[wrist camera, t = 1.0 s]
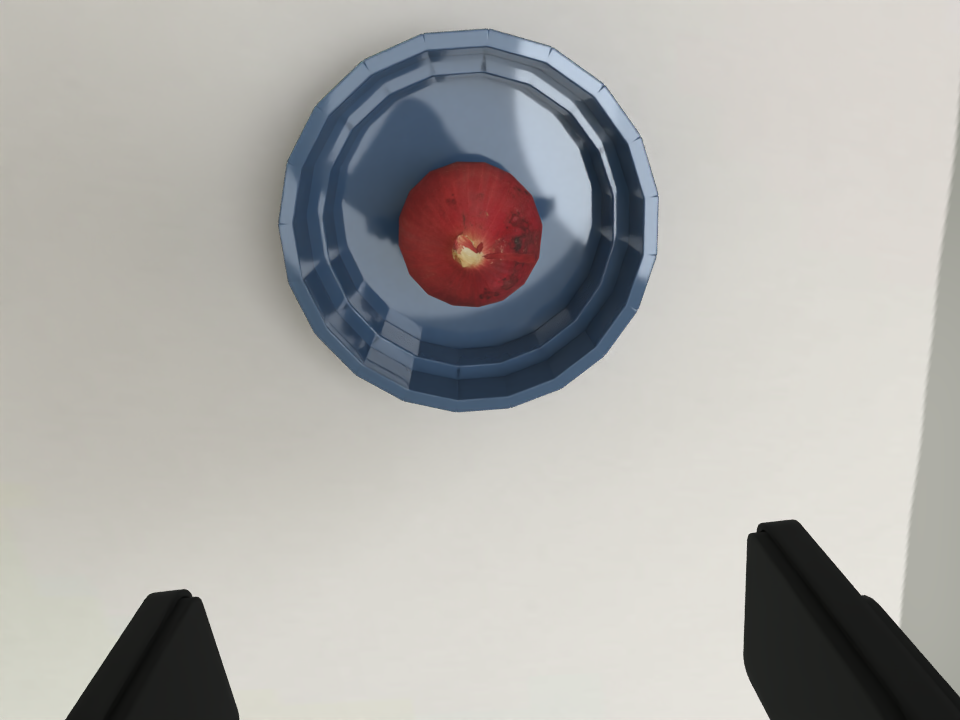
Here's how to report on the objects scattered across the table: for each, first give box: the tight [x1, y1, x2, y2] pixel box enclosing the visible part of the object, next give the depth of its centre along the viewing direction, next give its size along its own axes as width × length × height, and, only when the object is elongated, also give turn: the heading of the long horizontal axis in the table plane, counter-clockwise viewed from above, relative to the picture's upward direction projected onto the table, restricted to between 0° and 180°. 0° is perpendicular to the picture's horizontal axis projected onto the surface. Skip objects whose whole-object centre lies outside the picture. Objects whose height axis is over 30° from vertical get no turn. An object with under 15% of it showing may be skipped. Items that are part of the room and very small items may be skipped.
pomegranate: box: [399, 162, 543, 307], centre depth 26 cm, size 6×6×8 cm
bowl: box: [278, 29, 659, 412], centre depth 28 cm, size 15×15×5 cm
